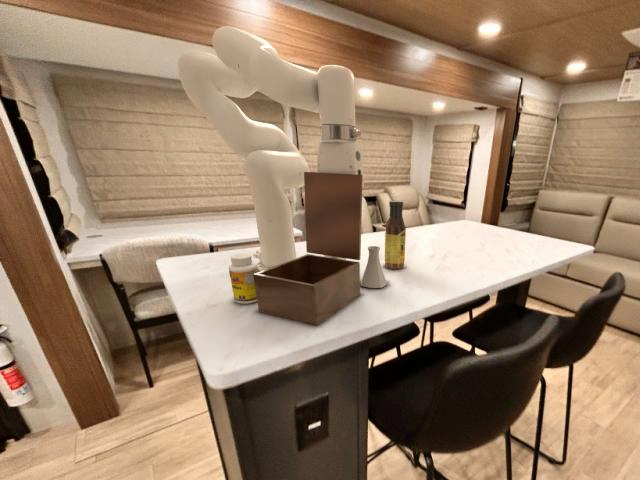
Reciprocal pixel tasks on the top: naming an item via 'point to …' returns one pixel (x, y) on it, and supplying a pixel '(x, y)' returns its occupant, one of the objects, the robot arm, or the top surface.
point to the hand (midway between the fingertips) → (341, 221)
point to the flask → (373, 270)
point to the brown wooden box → (307, 288)
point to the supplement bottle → (243, 278)
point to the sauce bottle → (395, 237)
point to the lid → (333, 214)
